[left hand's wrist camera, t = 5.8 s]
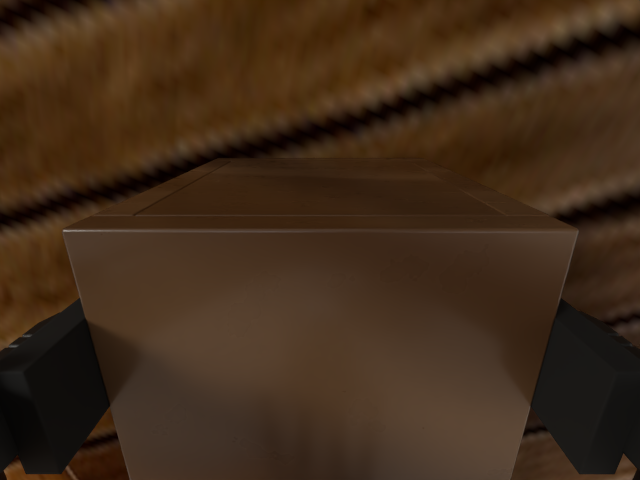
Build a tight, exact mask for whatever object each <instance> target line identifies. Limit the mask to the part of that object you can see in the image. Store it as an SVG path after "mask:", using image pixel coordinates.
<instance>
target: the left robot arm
mask: <svg viewBox="0 0 640 480" xmlns="http://www.w3.org/2000/svg"><path fill="white" fill-rule="evenodd" d="M109 406H110V405H109V402H108V398H107V394H106V391H105V387H104V383H103V380H102V376H101V373H100V369H99V365H98V362H97V358H96V354H95V351H94V347H93V343H92V340H91V336H90V333H89V329H88V325H87V322H86V318H85V314H84V311H83V307H82V304H81V300H80V298H79V299H78V300H76V301H75V302H74V303H73V304H71V305H70V306H69V307H67V308H66V309H65V310H63V311H62V312H61V313H58V314H56V315H54V316H52V317H50V318H48V319H46V320H43V321H41V322H39V323H38V324H37V325H35V326H34V327H33V328H31V329H30V330H29V331H27V332H26V333H25V334H23V336H22V337H19V338H18V339H17V340H15V341H14V342H12V343H11V344H10V345H9V347H8V348H4V349H3V350H2V351H0V480H7V478H6V475H5V473H4V471H3V470H4V469H5V468H6V467H7V466H8V465H9V464H10V462H11V461H12V460H13V459H14V458H15V457H16V456H17V455H18V456H19V459H20V461H21V463H22V466H23V468H24V470H25V473H26V474H61V473H62V472H63V471H64V469H65V468H66V466H67V465H68V464H69V462H70V461H71V459H72V458H73V457H74V455H75V454H76V452H77V451H78V450H79V448H80V447H81V445H82V444H83V443H84V441H85V440H86V438H87V437H88V436H89V434H90V433H91V431H92V430H93V429H94V427H95V426H96V424H97V423H98V422H99V420H100V419H101V417H102V416H103V415H104V413H105V412H106V410H107V409H108V408H109ZM531 407H532V409H533V410H534V411H535V413H536V414H537V416H538V417H539V418H540V420H541V421H542V423H543V424H544V425H545V427H546V428H547V430H548V431H549V432H550V434H551V435H552V437H553V438H554V439H555V441H556V442H557V443H558V445H559V446H560V448H561V449H562V450H563V452H564V453H565V455H566V456H567V457H568V459H569V460H570V462H571V463H572V464H573V466H574V467H575V469H576V470H577V471H578V473H579V474H615V472H616V469H617V467H618V465H619V462H620V460H621V458H622V455H623V453H624V454H625V455H626V457H627V458H628V459H629V460H630V461H631V462H632V463H633V464H634V466H635V467H636V468H637V471H636V473H635V475H634V478H633V480H640V349H638V348H637V347H633V346H632V343H630V342H629V341H628V340H626V339H625V338H624V337H622V336H619V335H618V333H617V332H615V331H614V330H613V329H611V328H610V327H609V326H607V325H606V324H605V323H603V322H602V321H600V320H598V319H596V318H594V317H592V316H590V315H588V314H586V313H584V312H581V311H577V310H576V309H574V308H573V307H572V306H570V305H569V304H568V303H567V302H565V301H564V300H563V299H560V303H559V306H558V310H557V313H556V317H555V321H554V324H553V328H552V332H551V335H550V339H549V342H548V346H547V350H546V353H545V357H544V361H543V364H542V368H541V371H540V375H539V379H538V382H537V386H536V390H535V393H534V397H533V400H532V404H531Z"/></svg>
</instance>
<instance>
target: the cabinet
mask: <svg viewBox="0 0 640 480" xmlns="http://www.w3.org/2000/svg"><path fill="white" fill-rule="evenodd" d="M62 234H63V238H64V242H65V245H66V249H67V253H68V256H69V260H70V264H71V267H72V271H73V274H74V278H75V282H76V285H77V289H78V293H79V296H80V300H81V304H82V307H83V311H84V314H85V318H86V322H87V325H88V329H89V333H90V336H91V340H92V343H93V347H94V351H95V354H96V358H97V362H98V365H99V369H100V373H101V376H102V380H103V383H104V387H105V391H106V394H107V398H108V402H109V405H110V409H111V413H112V416H113V420H114V423H115V427H116V431H117V434H118V438H119V442H120V445H121V449H122V453H123V456H124V460H125V463H126V467H127V471H128V474H129V478H130V480H511V477H512V473H513V469H514V466H515V462H516V458H517V455H518V451H519V448H520V444H521V440H522V437H523V433H524V429H525V426H526V422H527V419H528V415H529V411H530V408H531V404H532V400H533V397H534V393H535V390H536V386H537V382H538V379H539V375H540V371H541V368H542V364H543V361H544V357H545V353H546V350H547V346H548V342H549V339H550V335H551V332H552V328H553V324H554V321H555V317H556V313H557V310H558V306H559V303H560V299H561V295H562V292H563V288H564V284H565V281H566V277H567V274H568V270H569V266H570V263H571V259H572V256H573V252H574V248H575V245H576V241H577V237H578V234H579V230H578V229H577V228H575V227H572V226H570V225H568V224H566V223H564V222H561V221H559V220H557V219H555V218H553V217H550V216H549V215H547V214H545V213H543V212H541V211H539V210H536V209H534V208H532V207H530V206H528V205H525V204H523V203H521V202H519V201H516V200H514V199H512V198H510V197H508V196H505V195H503V194H501V193H499V192H497V191H494V190H492V189H490V188H488V187H486V186H483V185H481V184H479V183H477V182H475V181H472V180H470V179H468V178H466V177H463V176H461V175H459V174H457V173H455V172H452V171H450V170H448V169H446V168H444V167H441V166H439V165H437V164H435V163H433V162H430V161H428V160H425V159H423V158H217V159H215V160H213V161H211V162H209V163H207V164H204V165H202V166H200V167H198V168H196V169H193V170H191V171H189V172H187V173H185V174H182V175H180V176H178V177H176V178H174V179H171V180H169V181H167V182H165V183H163V184H160V185H158V186H156V187H154V188H152V189H149V190H147V191H145V192H143V193H141V194H138V195H136V196H134V197H132V198H130V199H127V200H125V201H123V202H121V203H119V204H116V205H114V206H112V207H110V208H108V209H105V210H103V211H101V212H99V213H97V214H94V215H93V216H90V217H88V218H86V219H83V220H81V221H79V222H77V223H75V224H72V225H70V226H68V227H66V228H64V229H63V230H62Z"/></svg>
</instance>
